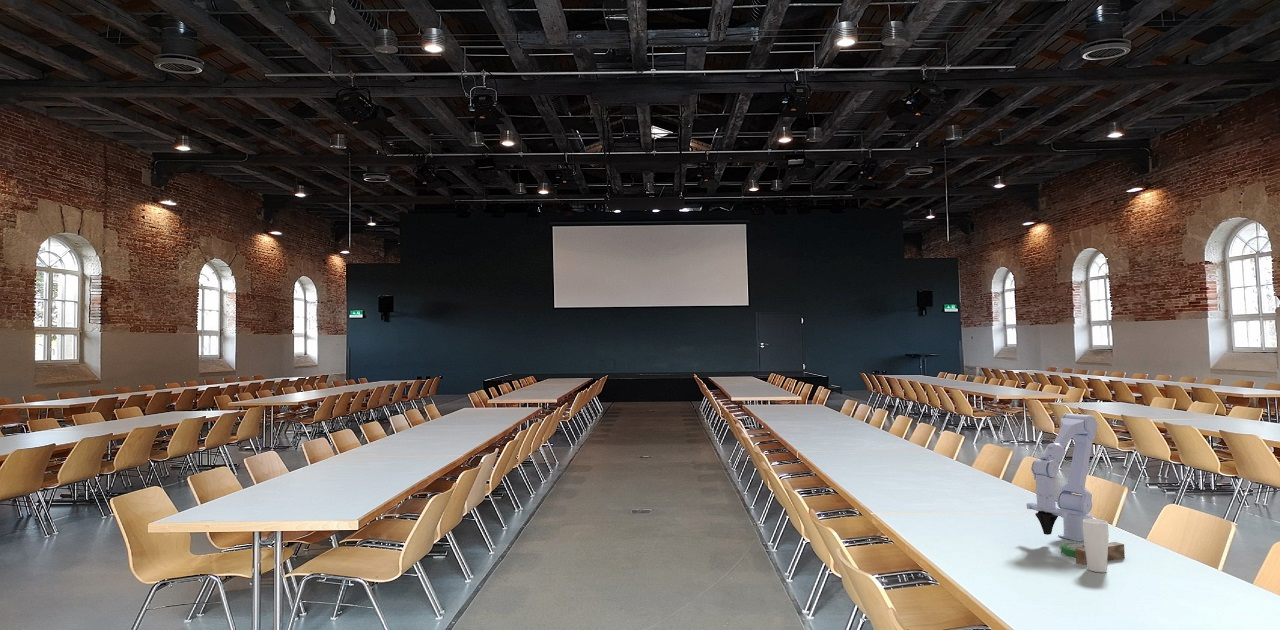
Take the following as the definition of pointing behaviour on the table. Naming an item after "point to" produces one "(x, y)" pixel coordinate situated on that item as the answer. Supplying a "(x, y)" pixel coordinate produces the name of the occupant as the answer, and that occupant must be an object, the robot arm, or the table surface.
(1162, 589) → the table surface
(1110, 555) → the brown wooden bar
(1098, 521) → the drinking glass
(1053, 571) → the table surface
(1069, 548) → the tape roll
